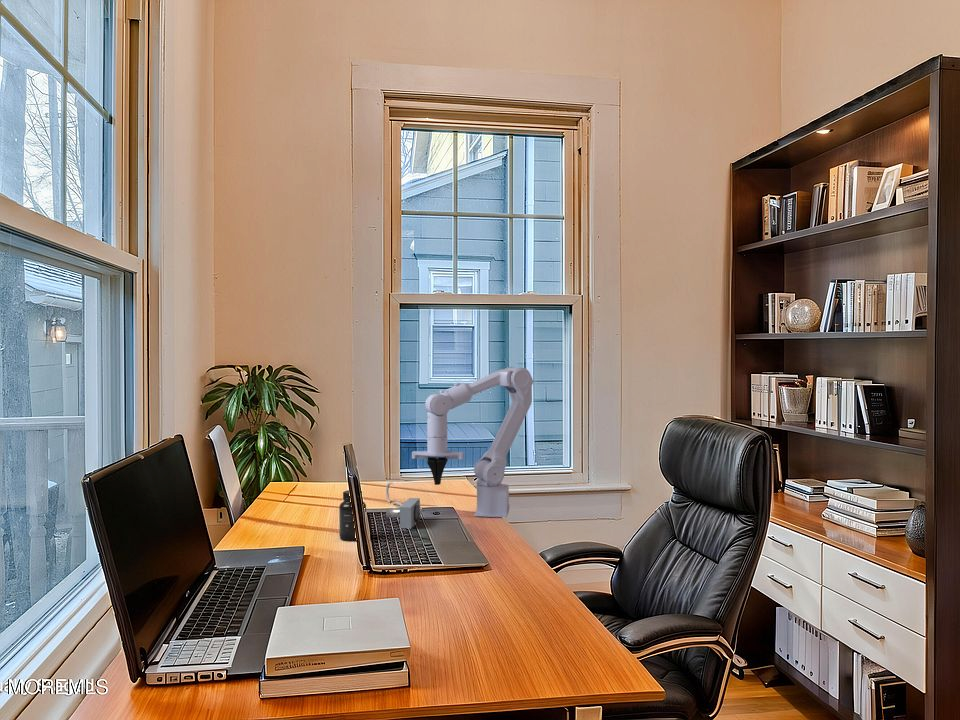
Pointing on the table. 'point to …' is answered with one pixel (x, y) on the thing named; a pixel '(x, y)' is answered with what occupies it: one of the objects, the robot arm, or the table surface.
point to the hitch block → (408, 513)
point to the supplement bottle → (346, 519)
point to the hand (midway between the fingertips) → (437, 484)
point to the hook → (388, 496)
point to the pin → (396, 513)
